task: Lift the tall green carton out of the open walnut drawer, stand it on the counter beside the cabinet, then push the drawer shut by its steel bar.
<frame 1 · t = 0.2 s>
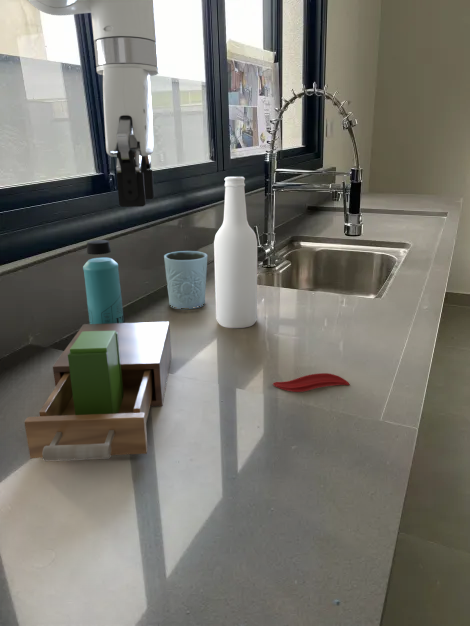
hand: (138, 202, 66), 29 cm above the worktop, tool pointing down, fingers open, 9 cm apart
drawer: (97, 412, 63), point 3 cm above the worktop, slide at 12.0 cm, touching tall green carton
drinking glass: (188, 305, 119), on the worktop
tall green carton: (101, 413, 66), point 2 cm above the worktop, touching drawer
alcohol: (236, 322, 106), on the worktop
cabinet: (121, 380, 80), on the worktop
cayenne pepper: (311, 386, 77), on the worktop
beverage bottle: (109, 345, 95), on the worktop
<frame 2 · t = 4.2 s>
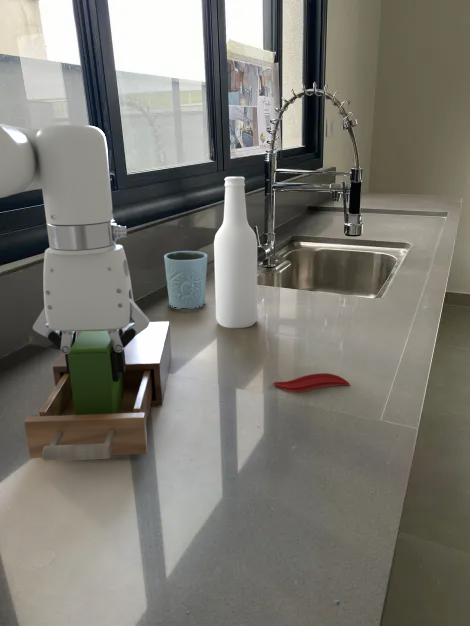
hand: (97, 376, 64), 7 cm above the worktop, tool pointing down, fingers closed on tall green carton, 4 cm apart
tall green carton: (101, 413, 66), point 2 cm above the worktop, touching drawer, gripper
everything else where it was.
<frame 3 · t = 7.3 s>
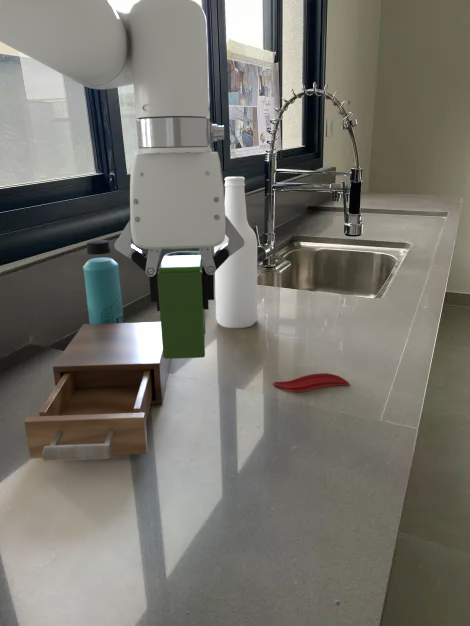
hand: (183, 305, 57), 18 cm above the worktop, tool pointing down, fingers closed on tall green carton, 4 cm apart
drawer: (97, 412, 63), point 3 cm above the worktop, slide at 12.0 cm
tall green carton: (185, 348, 59), point 13 cm above the worktop, touching gripper
everything else where it was.
when the fingers open (5 cm above the worktop, at t = 10.5 s): tall green carton stays where it is, on the worktop.
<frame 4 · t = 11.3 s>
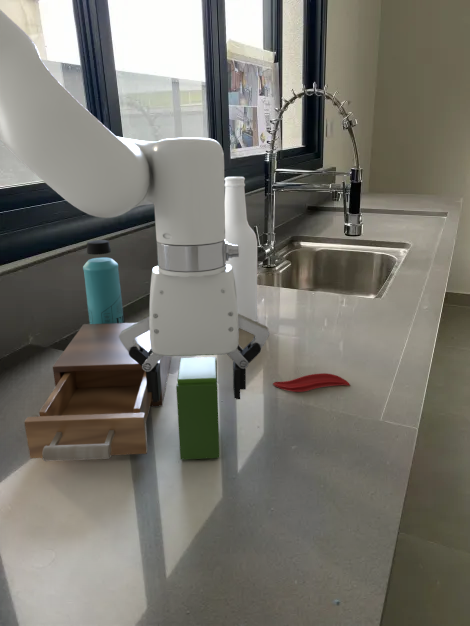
hand: (197, 395, 60), 7 cm above the worktop, tool pointing down, fingers open, 9 cm apart
tall green carton: (200, 444, 62), on the worktop
everything else where it was.
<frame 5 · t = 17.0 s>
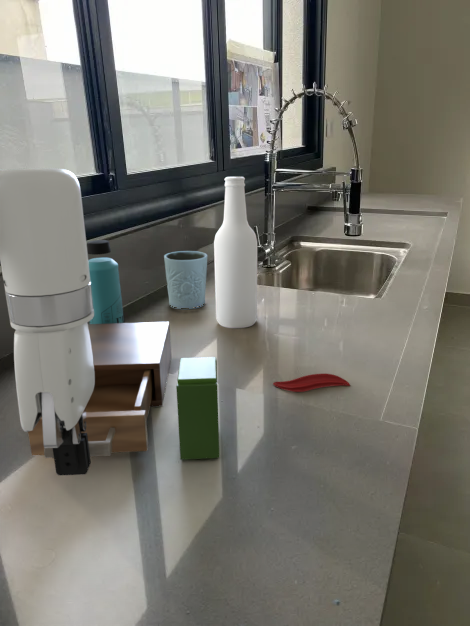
hand: (74, 470, 52), 3 cm above the worktop, tool pointing down, fingers closed
drawer: (98, 410, 64), point 3 cm above the worktop, slide at 11.4 cm, touching gripper
everything else where it was.
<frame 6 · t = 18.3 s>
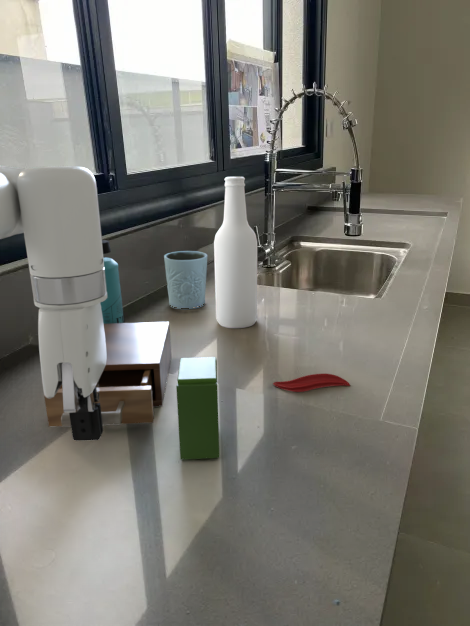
hand: (88, 436, 59), 3 cm above the worktop, tool pointing down, fingers closed
drawer: (108, 387, 70), point 3 cm above the worktop, slide at 4.9 cm, touching gripper
everything else where it was.
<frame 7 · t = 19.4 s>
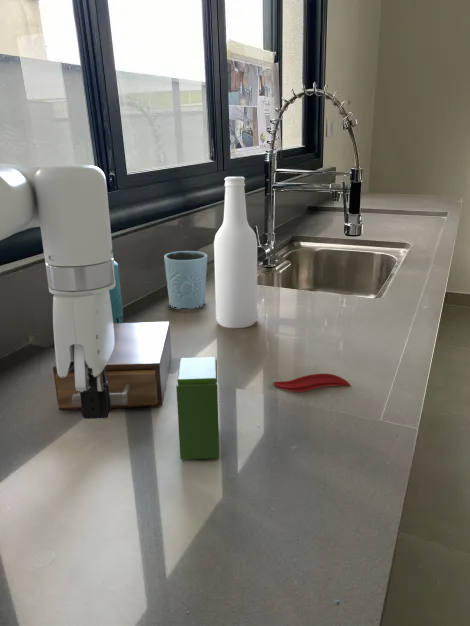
hand: (97, 415, 63), 3 cm above the worktop, tool pointing down, fingers closed
drawer: (114, 372, 75), point 3 cm above the worktop, slide at 0.0 cm, touching cabinet, gripper
everything else where it was.
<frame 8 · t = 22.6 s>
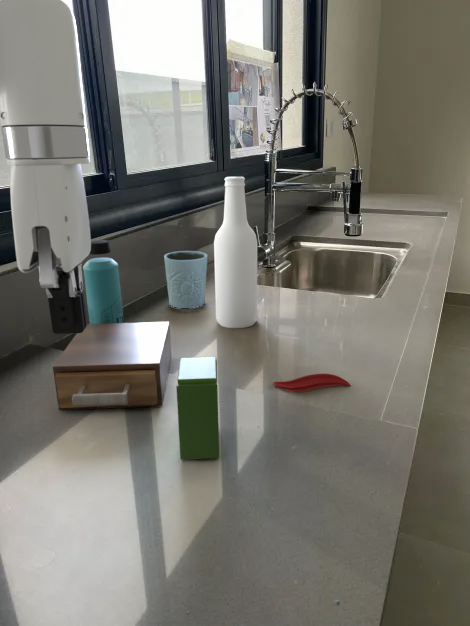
hand: (70, 330, 53), 17 cm above the worktop, tool pointing down, fingers closed
drawer: (114, 372, 75), point 3 cm above the worktop, slide at 0.0 cm, touching cabinet
everything else where it was.
at the end: tall green carton inside the target area (0.1 cm from its centre), on the worktop; tall green carton tilted 0°; drawer slide at 0.0 cm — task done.
